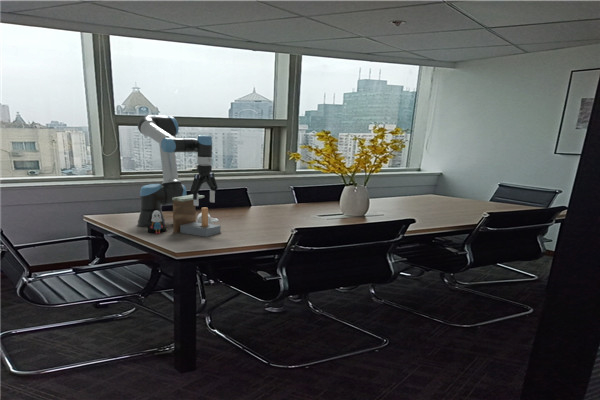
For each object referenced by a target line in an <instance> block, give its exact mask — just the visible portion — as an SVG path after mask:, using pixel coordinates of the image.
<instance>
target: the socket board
mask: <svg viewBox="0 0 600 400" xmlns="http://www.w3.org/2000/svg"><path fill="white" fill-rule="evenodd" d="M179 233H180V234H187V235H193V236H200V237H211V236H215V235H217V234H220V233H221V225H220V224H213V223H212V224H208V227H202V223H200V222H197V221H196V222H192V223H188V224H184V225H180V232H179Z"/></svg>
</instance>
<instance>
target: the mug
mask: <svg viewBox="0 0 600 400" xmlns="http://www.w3.org/2000/svg"><path fill="white" fill-rule="evenodd" d="M196 222H200V223H202V212H200V213H198V214H197V217H196ZM218 222H219V219H218V218H216V217H215V218H214V217H211V215H210V213H208V224H213V223H218Z"/></svg>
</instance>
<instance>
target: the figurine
mask: <svg viewBox="0 0 600 400" xmlns="http://www.w3.org/2000/svg"><path fill="white" fill-rule="evenodd" d="M151 221H153V222H152V226H151V227H147V234H151V235H161V234H165V233H166V232H167V227H166V226H164V225H162V224H161V221H162V219H161V213H160V212H159V211H157V210H156V211H154V212H153V214H152V220H151ZM154 222H156V223H155V225H154V226H153V224H154Z"/></svg>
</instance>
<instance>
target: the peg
mask: <svg viewBox="0 0 600 400" xmlns="http://www.w3.org/2000/svg"><path fill="white" fill-rule="evenodd" d="M201 213H202V227H208V214H209V208H208V207H201Z"/></svg>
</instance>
